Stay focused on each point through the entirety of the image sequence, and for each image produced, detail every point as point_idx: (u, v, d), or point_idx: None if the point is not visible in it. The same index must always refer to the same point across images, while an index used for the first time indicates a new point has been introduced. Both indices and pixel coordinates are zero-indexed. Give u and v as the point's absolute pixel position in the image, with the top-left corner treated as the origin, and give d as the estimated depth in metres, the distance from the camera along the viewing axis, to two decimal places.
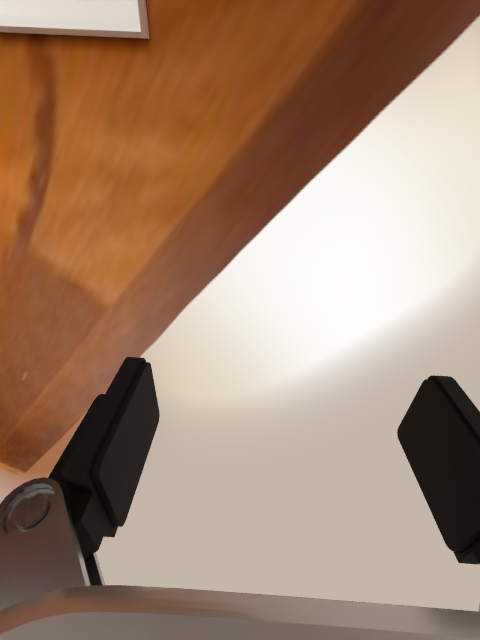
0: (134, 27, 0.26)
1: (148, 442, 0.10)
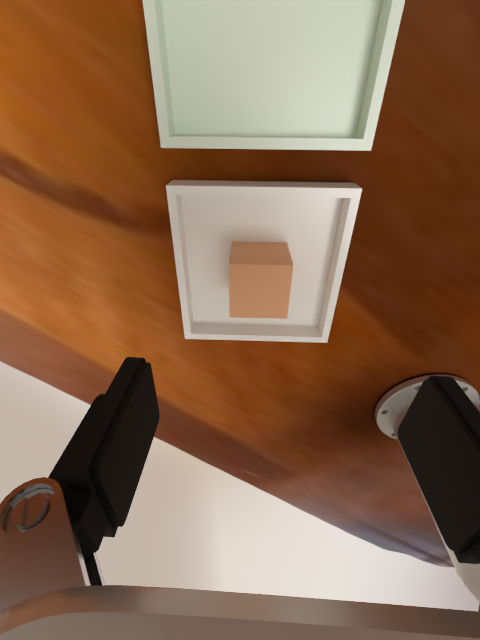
0: (186, 334, 0.31)
1: (148, 442, 0.10)
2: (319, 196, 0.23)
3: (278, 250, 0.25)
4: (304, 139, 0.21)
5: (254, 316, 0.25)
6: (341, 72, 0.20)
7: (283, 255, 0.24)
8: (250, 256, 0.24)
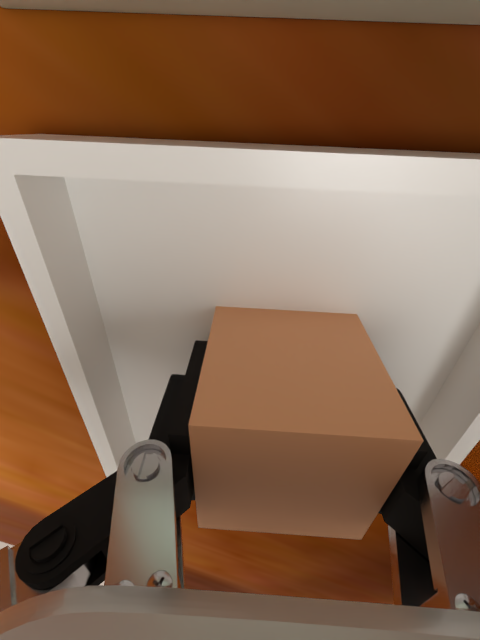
0: None
1: None
2: None
3: (343, 347, 0.09)
4: None
5: (268, 530, 0.09)
6: None
7: (366, 372, 0.08)
8: (265, 378, 0.08)
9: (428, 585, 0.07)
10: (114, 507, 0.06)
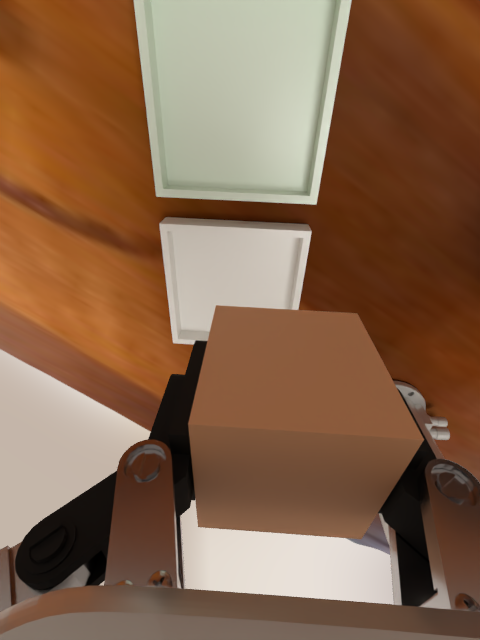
0: (174, 340, 0.37)
1: None
2: (278, 236, 0.29)
3: (343, 346, 0.09)
4: (265, 194, 0.27)
5: (268, 530, 0.09)
6: (294, 147, 0.26)
7: (366, 371, 0.08)
8: (265, 377, 0.08)
9: (428, 584, 0.07)
10: (114, 507, 0.06)
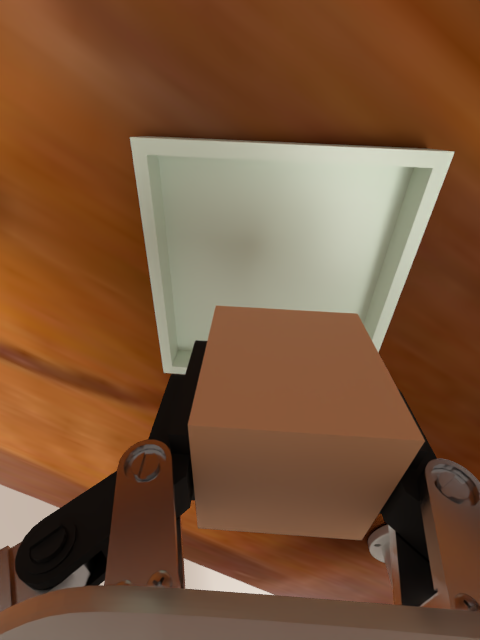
0: None
1: None
2: None
3: (343, 347, 0.09)
4: None
5: (268, 531, 0.09)
6: None
7: (366, 372, 0.08)
8: (265, 378, 0.07)
9: (429, 584, 0.07)
10: (114, 507, 0.06)
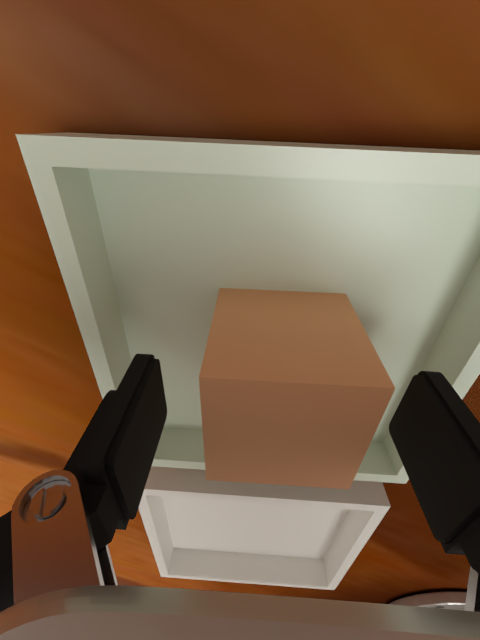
0: (163, 574, 0.25)
1: (157, 437, 0.10)
2: (333, 507, 0.17)
3: (331, 320, 0.10)
4: None
5: (268, 482, 0.10)
6: None
7: (350, 339, 0.09)
8: (263, 344, 0.09)
9: None
10: (14, 558, 0.05)
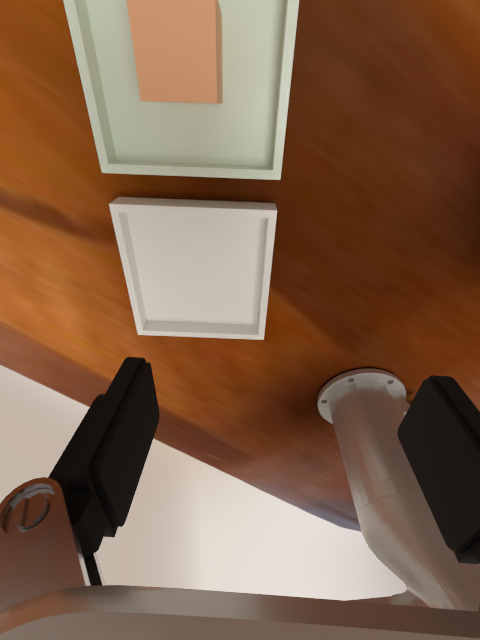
0: (139, 331, 0.35)
1: (148, 442, 0.10)
2: (241, 216, 0.26)
3: None
4: (223, 169, 0.24)
5: (173, 99, 0.19)
6: (253, 114, 0.24)
7: None
8: None
9: None
10: None
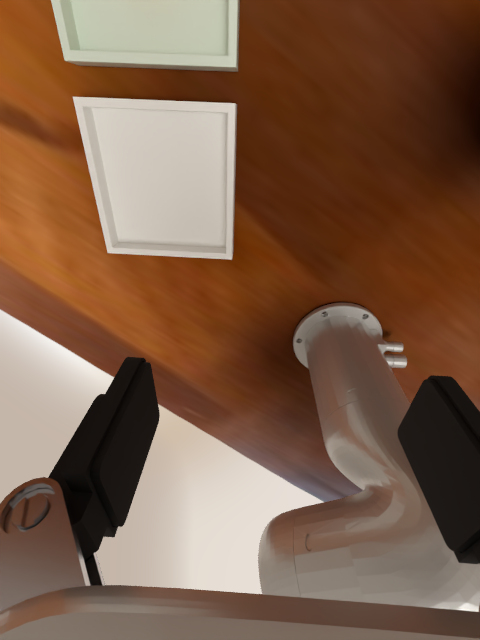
0: (108, 248, 0.35)
1: (148, 442, 0.10)
2: (201, 110, 0.27)
3: None
4: (180, 55, 0.25)
5: None
6: (209, 0, 0.24)
7: None
8: None
9: None
10: None
